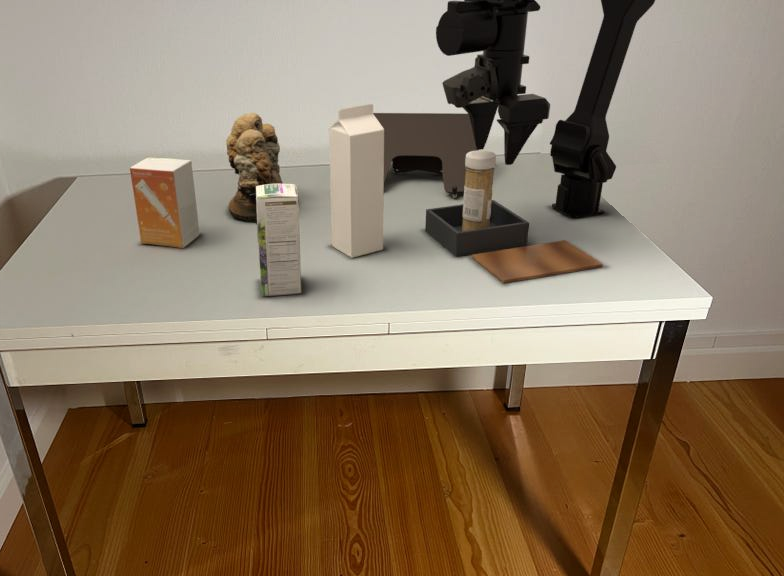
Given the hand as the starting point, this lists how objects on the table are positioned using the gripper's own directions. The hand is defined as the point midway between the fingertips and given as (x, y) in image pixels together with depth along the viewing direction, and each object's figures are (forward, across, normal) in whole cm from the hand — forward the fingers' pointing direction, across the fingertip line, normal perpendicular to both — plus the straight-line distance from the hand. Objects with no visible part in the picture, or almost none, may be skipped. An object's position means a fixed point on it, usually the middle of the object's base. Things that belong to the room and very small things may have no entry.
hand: (493, 156), depth 116 cm
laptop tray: (+13, -31, +1) cm, 34 cm away
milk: (+13, -3, -21) cm, 25 cm away
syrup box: (+13, +7, -36) cm, 39 cm away
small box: (+14, -18, -49) cm, 54 cm away
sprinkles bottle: (+13, 0, -2) cm, 13 cm away
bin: (+13, 0, -2) cm, 13 cm away
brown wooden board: (+13, +12, +2) cm, 18 cm away
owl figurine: (+13, -28, -31) cm, 44 cm away
